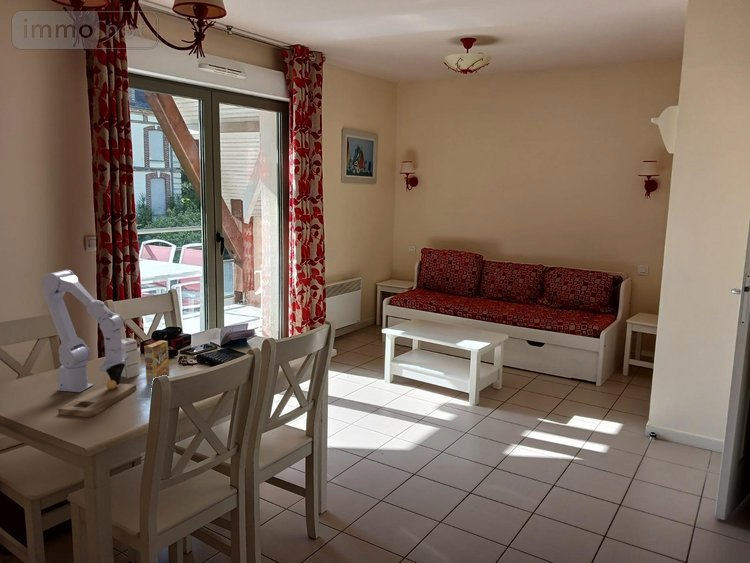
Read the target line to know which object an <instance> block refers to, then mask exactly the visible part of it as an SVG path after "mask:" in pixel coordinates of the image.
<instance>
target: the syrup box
mask: <svg viewBox="0 0 750 563" xmlns="http://www.w3.org/2000/svg"><path fill="white" fill-rule="evenodd" d="M122 354H128V360H125V361H126V362H124V363H121V364H125V367H124V369H123V371H122V374H121V376H122V378H124V377H125V378H124V379H130V377H131V378H134V377H136V376H139V375H140V371H139V370H140V367H139V356H138V341H137V339H133V338H129V337H126V338H122Z"/></svg>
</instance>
